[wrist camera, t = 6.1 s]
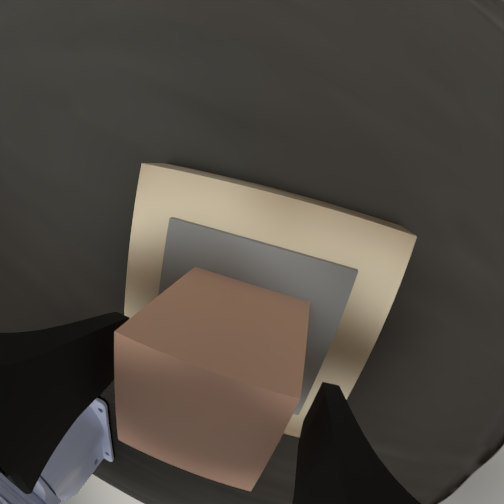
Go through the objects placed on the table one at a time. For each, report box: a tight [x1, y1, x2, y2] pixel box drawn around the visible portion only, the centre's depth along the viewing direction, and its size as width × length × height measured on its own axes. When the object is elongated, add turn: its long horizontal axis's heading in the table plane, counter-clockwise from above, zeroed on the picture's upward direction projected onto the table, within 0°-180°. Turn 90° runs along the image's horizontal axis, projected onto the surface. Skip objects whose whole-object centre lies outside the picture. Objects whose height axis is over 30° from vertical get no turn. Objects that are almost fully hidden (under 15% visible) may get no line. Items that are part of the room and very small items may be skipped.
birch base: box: [124, 163, 417, 437], centre depth 15 cm, size 12×12×3 cm
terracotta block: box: [114, 267, 310, 491], centre depth 11 cm, size 5×5×6 cm
